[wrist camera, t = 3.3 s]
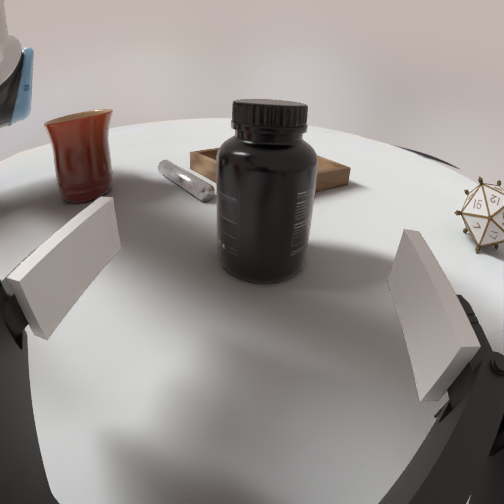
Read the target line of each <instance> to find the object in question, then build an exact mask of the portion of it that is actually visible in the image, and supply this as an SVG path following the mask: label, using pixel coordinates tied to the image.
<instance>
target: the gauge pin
mask: <svg viewBox="0 0 504 504" xmlns="http://www.w3.org/2000/svg"><path fill="white" fill-rule="evenodd" d="M158 170H159V172H160V173H162V174H163V175H165V176H166V177H168V178H169V179H171V180H172V181H173V182H175V183H176V184H178V185H179V186H181V187H182V188H184V189H185V190H187V191H188V192H189V193H191V194H192V195H194V196H195V197H197V198H198V199H200V200H201V201H203V202H206V201H209V200H210V199H211V198H212V197H213V195H214V187H213V186H212V185H210V184H209V183H207V182H205V181H203V180H202V179H200V178H198V177H196V176H195V175H193V174H191V173H189V172H188V171H186V170H184V169H182V168H181V167H179V166H177V165H175V164H173V163H172V162H170V161H168V160H163V161H161V162H160V164H159V166H158Z"/></svg>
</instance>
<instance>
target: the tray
mask: <svg viewBox="0 0 504 504" xmlns="http://www.w3.org/2000/svg"><path fill="white" fill-rule="evenodd" d="M218 150H219V148H215V149H208V150H201V151H195V152H190V169H192V170H194V171H196V172H198V173H199V174H201V175H203V176H205V177H207V178H209V179H210V180H212V181H214V182H216V161H217V152H218ZM317 157H318V171H317V180H316V188H315V192H318V191H322V190H327V189H331V188H335V187H339V186H344V185H348V180H349V174H350V167H347V166H344V165H342V164H339V163H336V162H334V161H331V160H328V159H325V158H323V157H320V156H317ZM216 183H217V182H216Z"/></svg>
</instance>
